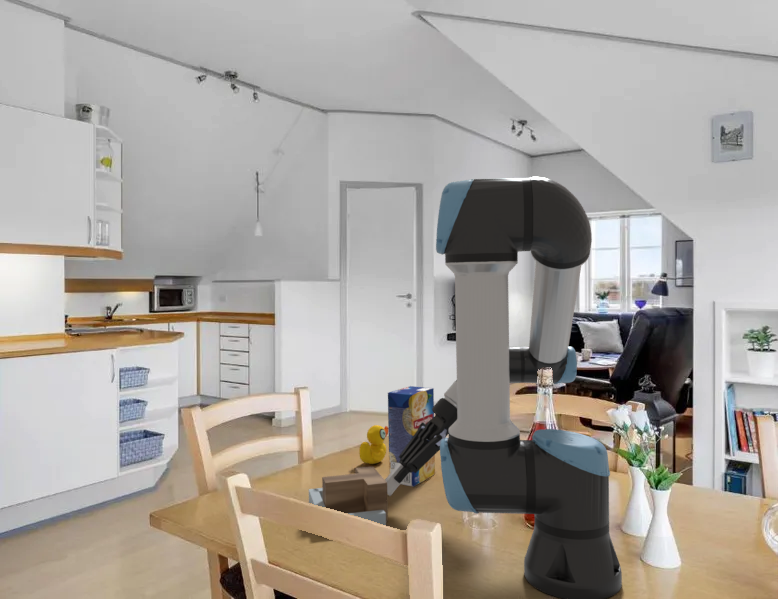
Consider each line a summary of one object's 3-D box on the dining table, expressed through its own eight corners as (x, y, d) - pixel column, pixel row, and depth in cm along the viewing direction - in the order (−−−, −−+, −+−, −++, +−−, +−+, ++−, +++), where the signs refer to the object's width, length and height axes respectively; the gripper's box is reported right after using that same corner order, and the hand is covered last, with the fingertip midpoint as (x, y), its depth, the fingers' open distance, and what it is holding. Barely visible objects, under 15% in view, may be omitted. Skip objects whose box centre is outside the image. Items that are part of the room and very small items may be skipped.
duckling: (380, 456, 171) (379, 420, 171) (395, 459, 168) (394, 423, 168) (354, 465, 162) (353, 428, 162) (369, 469, 159) (369, 431, 159)
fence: (386, 528, 120) (385, 513, 120) (320, 536, 116) (320, 520, 116) (365, 496, 138) (365, 483, 138) (308, 502, 135) (308, 489, 135)
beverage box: (435, 474, 154) (433, 388, 153) (413, 486, 144) (411, 395, 144) (411, 470, 157) (410, 386, 157) (389, 482, 148) (387, 392, 148)
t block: (387, 521, 123) (387, 482, 123) (329, 529, 120) (328, 489, 120) (373, 502, 135) (372, 466, 134) (319, 508, 131) (319, 471, 131)
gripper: (478, 424, 128) (405, 512, 124) (456, 412, 140) (389, 491, 137) (454, 402, 126) (379, 490, 123) (434, 391, 139) (365, 471, 135)
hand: (384, 491), depth 130 cm, fingers closed
